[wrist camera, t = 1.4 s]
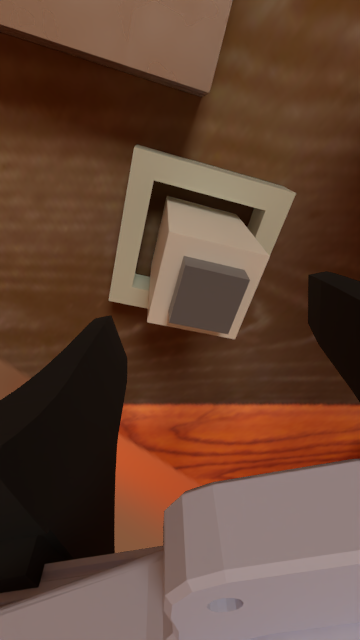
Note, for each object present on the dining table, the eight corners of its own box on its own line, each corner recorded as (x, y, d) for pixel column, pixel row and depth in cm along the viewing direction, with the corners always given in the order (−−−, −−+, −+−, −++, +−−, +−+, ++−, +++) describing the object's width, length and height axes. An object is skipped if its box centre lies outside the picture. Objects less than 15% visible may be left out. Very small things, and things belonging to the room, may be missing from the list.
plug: (236, 214, 19) (277, 265, 12) (214, 277, 21) (239, 352, 14) (166, 195, 18) (169, 239, 12) (151, 263, 20) (145, 334, 14)
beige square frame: (283, 186, 18) (296, 193, 17) (233, 311, 22) (239, 327, 21) (136, 144, 17) (134, 146, 15) (112, 286, 21) (108, 300, 19)
